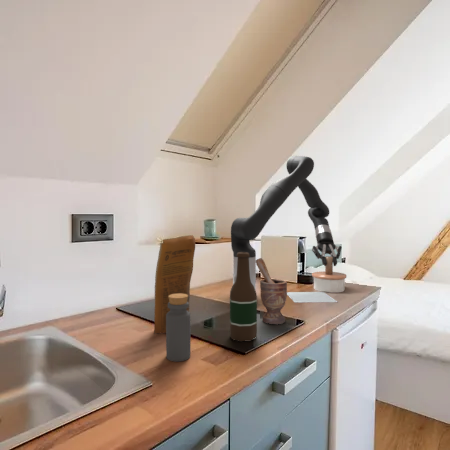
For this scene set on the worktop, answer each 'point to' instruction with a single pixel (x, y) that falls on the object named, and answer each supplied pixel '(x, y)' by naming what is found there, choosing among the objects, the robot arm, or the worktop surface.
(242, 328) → the beer bottle
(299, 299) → the mat
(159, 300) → the pancake mix bag
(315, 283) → the bowl
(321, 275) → the lid
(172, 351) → the bottle
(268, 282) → the mortar and pestle
